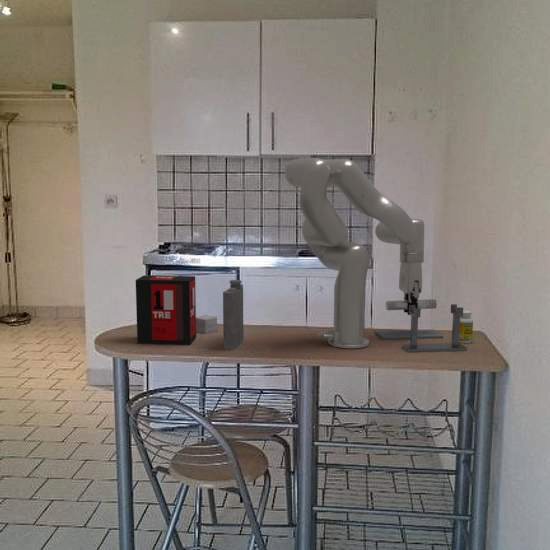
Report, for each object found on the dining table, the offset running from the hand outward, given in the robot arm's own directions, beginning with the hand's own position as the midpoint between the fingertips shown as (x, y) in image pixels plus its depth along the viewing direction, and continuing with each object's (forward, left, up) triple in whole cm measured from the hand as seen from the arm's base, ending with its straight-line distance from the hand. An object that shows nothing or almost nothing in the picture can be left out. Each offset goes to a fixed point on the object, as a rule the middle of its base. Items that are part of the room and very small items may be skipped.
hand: (410, 312), depth 209 cm
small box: (-66, +12, -8) cm, 68 cm away
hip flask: (-57, -6, -8) cm, 58 cm away
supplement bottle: (+14, -9, -8) cm, 19 cm away
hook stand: (+2, -17, -7) cm, 19 cm away
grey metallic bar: (0, 0, +3) cm, 3 cm away
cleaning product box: (-78, 0, -8) cm, 79 cm away
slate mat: (0, 0, -7) cm, 7 cm away
